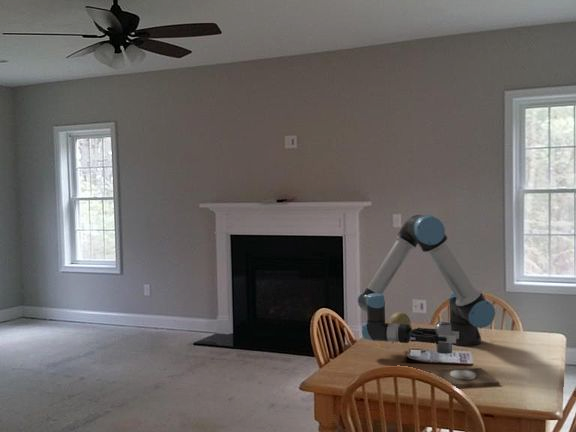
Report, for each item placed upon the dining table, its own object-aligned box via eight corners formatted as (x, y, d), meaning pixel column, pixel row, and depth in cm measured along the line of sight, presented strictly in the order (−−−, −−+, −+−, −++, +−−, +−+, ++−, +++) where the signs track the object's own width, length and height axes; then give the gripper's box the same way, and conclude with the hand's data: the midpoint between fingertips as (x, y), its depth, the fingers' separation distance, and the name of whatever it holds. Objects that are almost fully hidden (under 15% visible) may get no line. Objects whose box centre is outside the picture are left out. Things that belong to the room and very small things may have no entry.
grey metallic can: (449, 348, 223) (448, 321, 222) (454, 353, 217) (453, 324, 216) (434, 349, 222) (433, 321, 222) (439, 354, 216) (438, 325, 216)
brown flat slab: (480, 371, 209) (480, 365, 209) (499, 385, 193) (499, 379, 193) (429, 373, 208) (429, 368, 208) (443, 388, 192) (443, 382, 192)
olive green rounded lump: (402, 343, 264) (419, 328, 262) (385, 325, 264) (401, 310, 262) (399, 337, 273) (415, 323, 272) (383, 320, 273) (399, 305, 272)
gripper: (405, 336, 236) (461, 340, 225) (393, 348, 219) (453, 353, 208) (405, 319, 236) (461, 322, 225) (392, 329, 219) (452, 334, 208)
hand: (457, 337), depth 217 cm, fingers closed on grey metallic can, 6 cm apart
